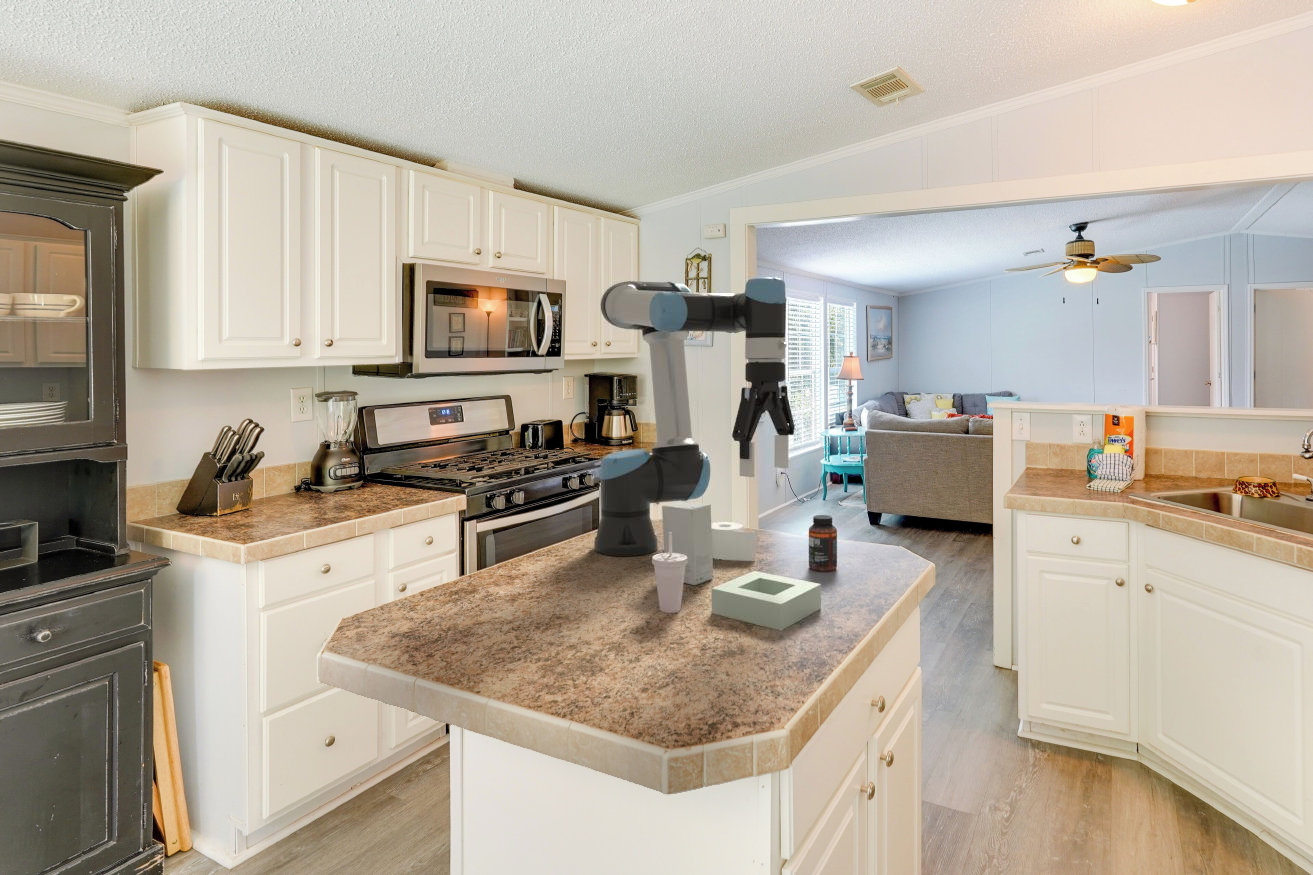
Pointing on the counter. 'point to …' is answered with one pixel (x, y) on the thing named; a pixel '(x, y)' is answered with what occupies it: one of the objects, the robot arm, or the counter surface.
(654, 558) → the smoothie
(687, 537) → the skincare box
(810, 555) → the supplement bottle
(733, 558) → the toilet paper
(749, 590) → the block
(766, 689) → the counter surface
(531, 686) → the counter surface
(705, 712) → the counter surface
